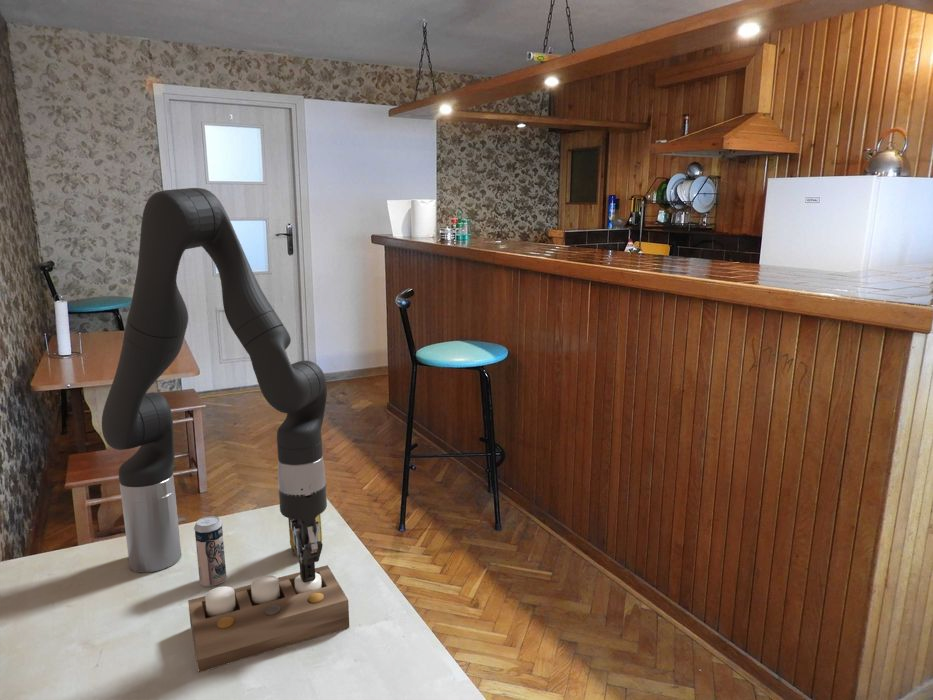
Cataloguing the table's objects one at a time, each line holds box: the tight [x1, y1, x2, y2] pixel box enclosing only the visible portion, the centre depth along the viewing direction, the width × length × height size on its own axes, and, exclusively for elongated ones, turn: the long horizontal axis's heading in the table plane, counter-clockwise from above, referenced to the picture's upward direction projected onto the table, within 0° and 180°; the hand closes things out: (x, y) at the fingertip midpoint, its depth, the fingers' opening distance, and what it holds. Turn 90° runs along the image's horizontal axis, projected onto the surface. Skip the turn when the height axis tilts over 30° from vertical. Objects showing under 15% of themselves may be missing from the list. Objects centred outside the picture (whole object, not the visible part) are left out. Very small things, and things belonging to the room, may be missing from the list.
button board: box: [187, 564, 350, 673], centre depth 106 cm, size 12×23×5 cm, turn 118°
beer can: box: [193, 515, 228, 588], centre depth 119 cm, size 5×5×12 cm
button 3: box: [295, 573, 322, 595], centre depth 111 cm, size 4×4×3 cm
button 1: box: [204, 586, 236, 618], centre depth 104 cm, size 4×4×3 cm
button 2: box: [250, 575, 280, 605], centre depth 108 cm, size 4×4×3 cm
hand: (308, 579), depth 111 cm, fingers closed
